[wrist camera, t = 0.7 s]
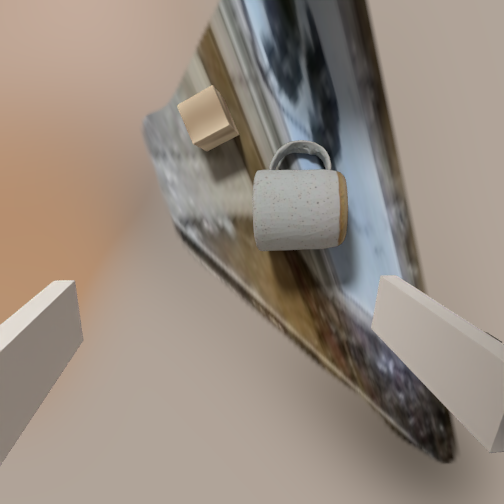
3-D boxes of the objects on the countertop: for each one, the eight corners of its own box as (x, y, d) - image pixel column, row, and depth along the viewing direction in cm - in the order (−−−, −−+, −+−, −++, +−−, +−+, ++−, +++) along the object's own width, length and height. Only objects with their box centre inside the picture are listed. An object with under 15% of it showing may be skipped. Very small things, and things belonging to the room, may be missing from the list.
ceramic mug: (342, 244, 32) (350, 253, 25) (265, 247, 34) (250, 255, 26) (340, 140, 31) (348, 115, 24) (260, 147, 33) (244, 126, 25)
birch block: (192, 117, 34) (176, 105, 30) (224, 99, 33) (212, 84, 29) (207, 151, 34) (193, 143, 30) (239, 135, 33) (229, 124, 29)
